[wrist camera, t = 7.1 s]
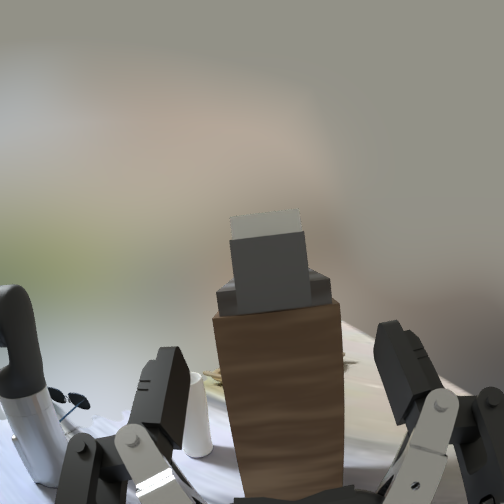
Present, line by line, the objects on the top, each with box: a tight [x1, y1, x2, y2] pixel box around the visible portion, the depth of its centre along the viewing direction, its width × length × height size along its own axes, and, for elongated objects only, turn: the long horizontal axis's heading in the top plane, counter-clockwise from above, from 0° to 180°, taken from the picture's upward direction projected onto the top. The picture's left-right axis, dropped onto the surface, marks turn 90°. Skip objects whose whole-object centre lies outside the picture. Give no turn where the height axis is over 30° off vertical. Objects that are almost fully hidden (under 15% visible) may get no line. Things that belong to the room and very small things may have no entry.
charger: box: [230, 209, 312, 314], centre depth 24 cm, size 20×6×6 cm, turn 177°
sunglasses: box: [47, 387, 90, 422], centre depth 54 cm, size 17×15×5 cm
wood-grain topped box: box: [212, 268, 344, 501], centre depth 30 cm, size 14×10×31 cm
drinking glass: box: [182, 372, 213, 458], centre depth 45 cm, size 7×7×15 cm
